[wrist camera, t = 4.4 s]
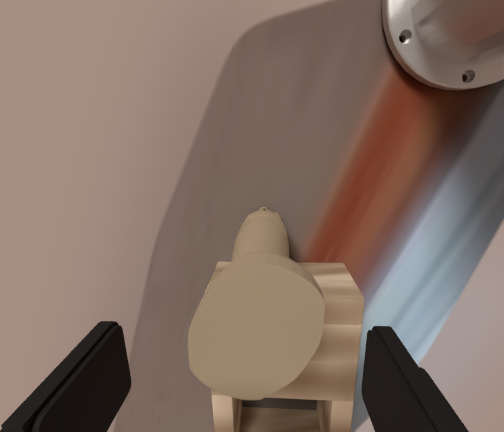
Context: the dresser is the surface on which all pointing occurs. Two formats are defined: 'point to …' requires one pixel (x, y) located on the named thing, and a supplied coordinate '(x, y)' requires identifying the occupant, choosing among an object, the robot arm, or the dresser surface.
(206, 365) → the handle
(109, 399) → the robot arm
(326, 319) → the socket block
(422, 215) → the dresser surface
